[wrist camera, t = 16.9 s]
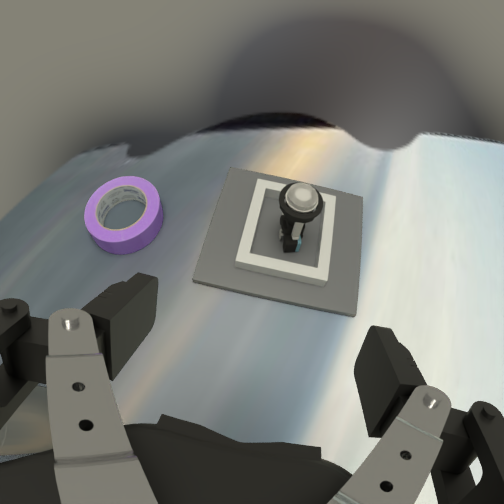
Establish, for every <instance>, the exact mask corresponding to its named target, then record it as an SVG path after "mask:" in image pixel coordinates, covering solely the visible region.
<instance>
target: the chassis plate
mask: <svg viewBox="0 0 504 504" xmlns="http://www.w3.org/2000/svg"><path fill="white" fill-rule="evenodd" d="M295 182H300V181H296V180H291V179H287V178H282V177H277V176H273V175H268V174H263V173H258V172H253V171H248V170H243V169H238V168H233V167H230V169H229V172H228V175H227V178H226V180H225V183H224V186H223V189H222V192H221V195H220V197H219V200H218V203H217V206H216V209H215V212H214V215H213V218H212V221H211V224H210V227H209V230H208V233H207V236H206V239H205V242H204V245H203V248H202V251H201V254H200V257H199V260H198V263H197V266H196V269H195V272H194V276H193V279H192V280H193V282H195V283H199V284H203V285H208V286H212V287H216V288H220V289H224V290H229V291H233V292H237V293H242V294H246V295H251V296H255V297H259V298H264V299H269V300H273V301H278V302H282V303H287V304H292V305H296V306H301V307H306V308H311V309H316V310H321V311H326V312H331V313H336V314H341V315H346V316H351V317H354V316H355V315H356V311H357V301H358V289H359V276H360V261H361V242H362V213H363V197H361V196H357V195H353V194H349V193H345V192H341V191H337V190H333V189H329V188H325V187H321V186H317V185H313V184H309V183H306V184H309V185H311V186H313V187H314V188H315V189H317V190H318V191H319V193H320V194H321V196H322V198H323V208H322V211H321V213H320V214H319V215H318V216H317V217H315V218H314V220H313V221H311V222H308V223H305V229H304V232H303V238H301V246H300V249H299V251H298V252H283V242H284V238H283V236H281V240H279V231H280V229H281V225H280V217H281V215H283V212H282V211H281V209H280V204H279V194H280V192H281V190H282V189H283V188H284V187H285V186H286V185H288V184H291V183H295ZM300 183H304V182H300ZM284 201H285V203H286V198H285V199H284ZM315 210H316V208H315V209H314V211H315ZM314 211H313V212H314Z"/></svg>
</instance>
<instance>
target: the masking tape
mask: <svg viewBox="0 0 504 504" xmlns="http://www.w3.org/2000/svg"><path fill="white" fill-rule="evenodd" d="M126 200H136V201H140V202H142V203H143V204H145V205H146V208H145V211H144V213H143V215H142V216H141V217H140V219H139V220H138V221H137V222H135V223H134V224H132V225H131V226H129V227H126V228H123V229H118V230H113V229H109V228H106V227H104V219H105V217H106V215H107V213H108V212H109V210H110V209H111V208H112V207H114V206H115V205H116V204H118V203H120V202H123V201H126ZM84 219H85V224H86V227H87V229H88V231H89V232H90V234H91V235H92V237H93V239H94V240H95V242H96V243H97V244H98V245H99V246H100V247H101V248H102V249H103V250H105V251H107V252H109V253H113V254H129V253H133V252H136V251H138V250H140V249H142V248H144V247H145V246H147V245H148V244H149V243H150V242H151V241H152V240H153V239H154V238H155V237H156V235H157V234H158V232H159V230H160V228H161V226H162V222H163V210H162V206H161V202H160V198H159V194H158V192H157V190H156V188H155V187H154V186H153V185H152V184H151V183H150V182H149V181H147V180H145V179H143V178H140V177H135V176H125V177H119V178H116V179H113V180H111V181H109V182H107V183H105V184H104V185H102V186H101V187H100V188H98V189H97V190H96V191H95V192H94V193H93V195H92V196H91V197H90V199H89V201H88V203H87V205H86V208H85V214H84Z"/></svg>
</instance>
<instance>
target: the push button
mask: <svg viewBox="0 0 504 504" xmlns="http://www.w3.org/2000/svg"><path fill="white" fill-rule="evenodd" d="M285 198H286V203H285V201H284V199H285ZM279 204H280V209H281V211H282V212H283V215H281V217H280V225H281V229H280V231H279V240H281V236H283V238H284V242H283V252H298V251H299V249H300V246H301V238H303V232H304V229H305V223H308V222H311V221H313V220H314V218H315V217H317V216H318V215H319V214H320V213H321V211H322V208H323V198H322V196H321V194H320V193H319V191H318V190H317V189H315V188H314V187H313V186H311V185H309V184H306V183H300V182H295V183H291V184H288V185H286V186H285V187H284V188H283V189H282V190H281V192H280V194H279ZM315 208H316V210H315V211H314V209H315ZM313 211H314V212H313Z"/></svg>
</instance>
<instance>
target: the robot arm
mask: <svg viewBox="0 0 504 504" xmlns="http://www.w3.org/2000/svg"><path fill="white" fill-rule="evenodd" d="M157 293H158V278H157V277H154V276H150V275H146V274H142V273H137V274H135V275H134V276H133V277H132V278H130V279H129V280H128V281H127V282H124V281H122V282H119V283H116V284H113V285H111V286H109V287H108V288H107V289H106V290H104V292H102V293H101V294H99V295H98V297H96V298H94V299H93V300H92V301H91V302H89V303H88V304H87V305H86V306H84V307H83V308H82V309H81V310H80V309H74V308H67V309H61V310H58V311H56V312H54V313H53V314H52V315H51V316H50V318H49V320H48V319H42V318H36V317H31V316H30V312H29V306H28V304H27V303H26V302H25V301H23V300H20V299H14V298H9V299H3V300H0V354H1V357H2V361H3V363H2V364H1V365H0V456H4V455H19V454H30V453H36V454H33V455H29V456H25V457H22V458H18V459H14V460H10V461H6V462H2V463H0V504H414V503H415V501H416V499H417V497H418V495H419V494H420V492H421V490H422V488H423V486H424V484H425V482H426V479H427V477H428V475H429V473H430V472H431V476H432V480H433V484H434V488H435V492H436V496H437V500H438V504H504V417H503V416H502V414H501V412H500V411H499V410H498V409H497V408H496V407H495V406H493V405H492V404H490V403H487V402H484V401H477V402H475V403H473V405H472V406H471V408H470V409H469V411H468V412H465V411H461V410H457V409H454V408H451V401H450V399H449V398H448V396H447V395H446V394H445V393H444V392H442V391H441V390H439V389H437V388H435V387H432V386H428V385H427V384H426V382H425V380H424V378H423V376H422V374H421V372H420V370H419V368H417V365H416V363H415V361H413V360H414V359H413V357H412V355H411V353H410V352H409V350H408V349H407V348H406V347H404V346H403V345H402V344H401V343H399V342H398V340H397V338H396V337H395V335H394V333H393V331H392V329H391V328H385V327H379V326H374V325H373V326H371V327H370V328H369V330H368V332H367V335H366V337H365V340H364V342H363V345H362V347H361V350H360V352H359V354H358V357H357V359H356V362H355V366H354V377H355V381H356V385H357V389H358V393H359V397H360V401H361V405H362V409H363V414H364V418H365V422H366V427H367V431H368V436H369V437H375V438H381V440H380V441H379V442H378V444H377V445H376V446H375V448H374V449H373V450H372V452H371V453H370V454H369V456H368V457H367V458H366V459H365V461H364V462H363V463H362V464H361V466H360V467H359V468H358V469H357V471H356V472H355V473H354V474H353V475H352V474H351V473H349V472H348V471H347V470H345V469H343V468H342V467H340V466H338V465H336V464H334V463H332V462H329V461H327V460H324V459H321V447H315V446H306V445H299V444H291V443H285V442H272V443H242V442H237V441H235V440H232V439H230V438H228V437H225V436H223V435H221V434H219V433H216V432H214V431H212V430H210V429H208V428H206V427H203V426H201V425H198V424H195V423H191V422H187V421H184V420H180V419H177V418H173V417H170V416H167V415H164V414H162V415H161V417H160V419H159V421H158V423H157V424H144V423H141V424H129V425H123V422H122V419H121V416H120V413H119V410H118V407H117V404H116V401H115V397H114V394H113V391H112V387H111V384H110V380H111V381H113V380H114V379H115V377H116V376H117V375H118V373H119V372H120V371H121V369H122V368H123V367H124V365H125V364H126V363H127V361H128V360H129V359H130V357H131V356H132V355H133V353H134V352H135V351H136V349H137V348H138V347H139V345H140V344H141V343H142V341H143V340H144V339H145V337H146V336H147V335H148V333H149V332H150V331H151V329H152V327H153V325H154V321H155V317H156V305H157ZM38 383H42V384H47V388H46V387H42V386H38ZM477 456H478V459H479V461H480V464H481V466H482V470H483V474H482V478H481V480H480V482H479V483H478V484H477V485H475V482H474V479H473V476H472V473H471V470H470V468H469V466H470V465H471V463H472V462H473V461H474V460H475V459H476V458H477Z"/></svg>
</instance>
